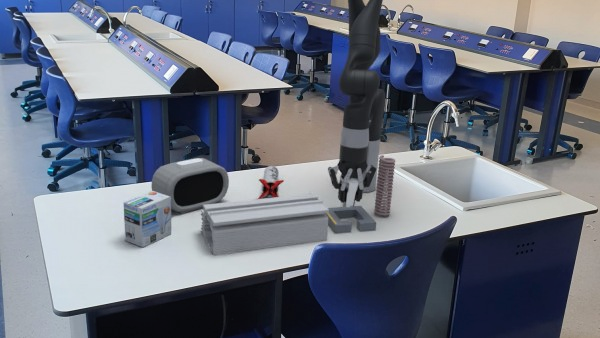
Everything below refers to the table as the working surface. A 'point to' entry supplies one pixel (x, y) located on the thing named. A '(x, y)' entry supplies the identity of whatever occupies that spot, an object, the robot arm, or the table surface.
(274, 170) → the model rocket
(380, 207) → the coil
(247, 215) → the aluminum extrusion profile
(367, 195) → the table surface
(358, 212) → the grey flat c-shaped piece
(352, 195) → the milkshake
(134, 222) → the light bulb box
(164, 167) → the alarm clock
